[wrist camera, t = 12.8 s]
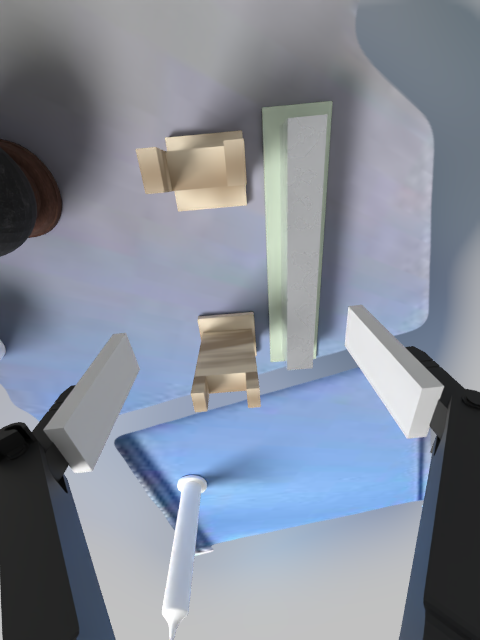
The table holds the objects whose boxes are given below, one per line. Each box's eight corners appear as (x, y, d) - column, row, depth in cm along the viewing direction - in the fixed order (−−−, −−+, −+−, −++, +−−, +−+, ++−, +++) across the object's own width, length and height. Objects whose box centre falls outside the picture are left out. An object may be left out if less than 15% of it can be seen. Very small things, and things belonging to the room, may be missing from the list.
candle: (176, 490, 65) (146, 649, 43) (179, 473, 62) (150, 635, 39) (204, 493, 66) (189, 651, 44) (209, 476, 62) (196, 637, 40)
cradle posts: (167, 139, 31) (118, 106, 18) (241, 131, 31) (248, 94, 18) (205, 356, 46) (194, 426, 33) (256, 352, 46) (265, 421, 33)
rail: (279, 127, 31) (287, 118, 26) (313, 124, 31) (327, 114, 26) (281, 351, 46) (287, 370, 41) (304, 350, 46) (312, 368, 41)
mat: (261, 108, 30) (262, 107, 30) (331, 101, 30) (332, 100, 30) (270, 360, 47) (270, 362, 47) (315, 356, 47) (315, 358, 46)
